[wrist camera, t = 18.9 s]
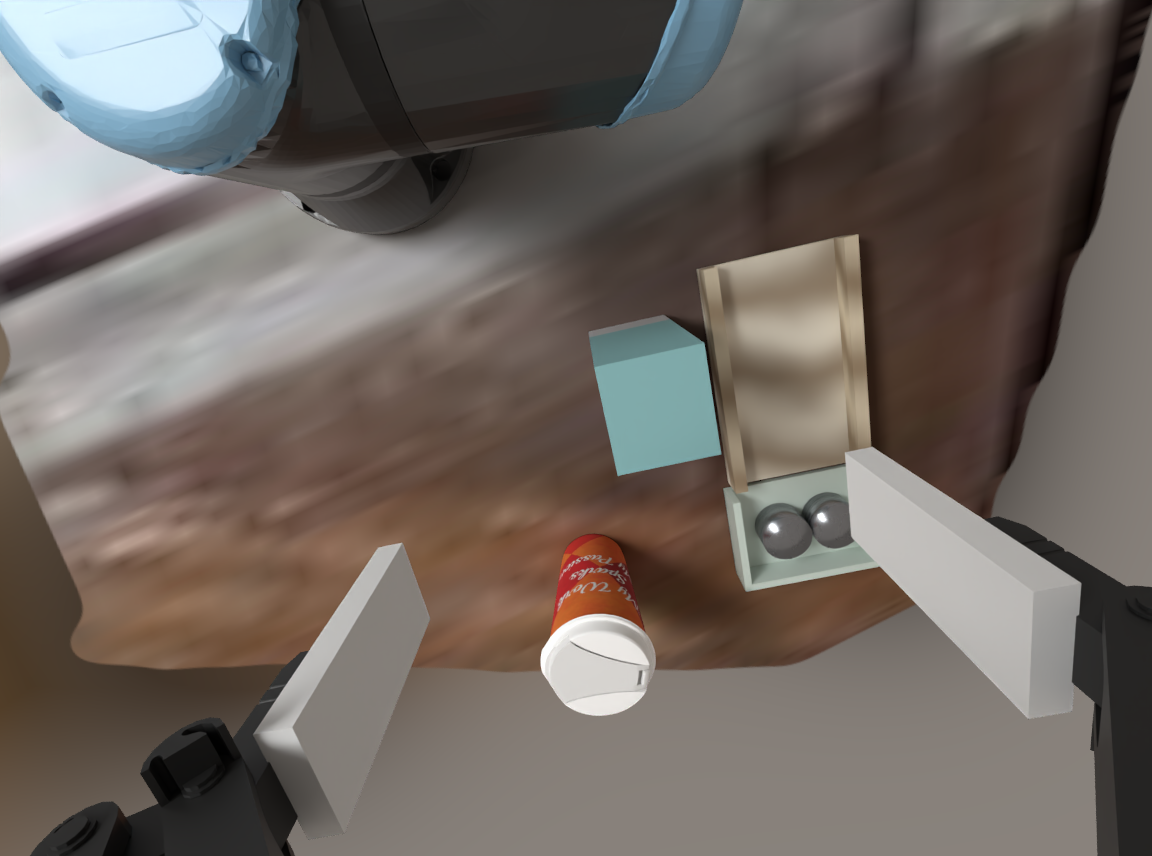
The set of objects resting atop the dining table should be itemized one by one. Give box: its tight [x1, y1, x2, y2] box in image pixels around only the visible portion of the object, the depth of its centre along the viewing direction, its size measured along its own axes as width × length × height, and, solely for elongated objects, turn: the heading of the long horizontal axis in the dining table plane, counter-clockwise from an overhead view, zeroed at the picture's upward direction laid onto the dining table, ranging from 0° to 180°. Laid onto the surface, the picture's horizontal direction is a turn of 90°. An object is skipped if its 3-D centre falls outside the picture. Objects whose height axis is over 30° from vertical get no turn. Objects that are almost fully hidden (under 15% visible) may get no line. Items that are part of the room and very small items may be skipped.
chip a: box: [801, 492, 855, 549], centre depth 46 cm, size 4×4×2 cm
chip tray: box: [723, 464, 880, 592], centre depth 46 cm, size 8×12×3 cm
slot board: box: [696, 235, 871, 494], centre depth 42 cm, size 18×11×2 cm, turn 13°
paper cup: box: [541, 534, 656, 716], centre depth 42 cm, size 8×8×14 cm
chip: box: [755, 503, 813, 559], centre depth 46 cm, size 4×4×2 cm
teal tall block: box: [588, 315, 721, 476], centre depth 37 cm, size 6×6×14 cm
